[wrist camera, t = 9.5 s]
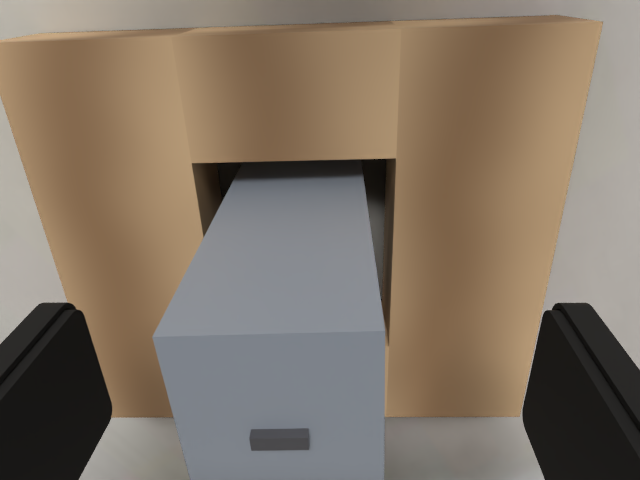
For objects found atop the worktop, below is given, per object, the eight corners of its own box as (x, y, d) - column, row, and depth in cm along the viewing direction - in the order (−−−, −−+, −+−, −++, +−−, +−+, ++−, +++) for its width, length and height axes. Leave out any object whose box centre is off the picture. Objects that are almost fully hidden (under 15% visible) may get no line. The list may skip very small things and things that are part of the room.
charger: (360, 155, 15) (386, 339, 7) (362, 279, 17) (385, 523, 9) (243, 161, 15) (147, 344, 7) (259, 282, 17) (196, 525, 10)
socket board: (557, 15, 13) (603, 21, 11) (497, 365, 19) (519, 416, 16) (40, 33, 14) (-17, 43, 11) (132, 367, 19) (105, 417, 17)
